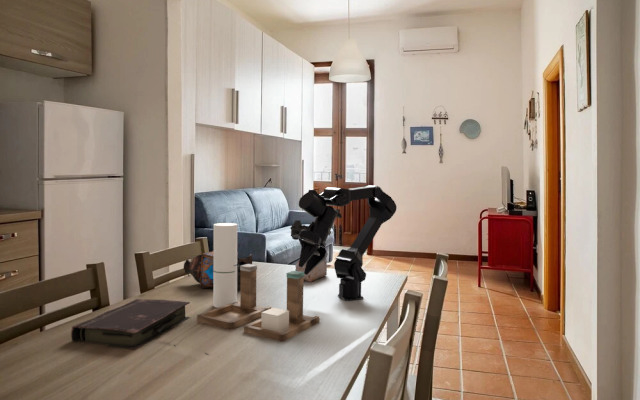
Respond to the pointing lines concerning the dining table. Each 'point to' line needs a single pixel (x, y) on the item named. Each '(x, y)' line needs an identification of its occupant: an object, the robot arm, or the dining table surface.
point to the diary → (131, 323)
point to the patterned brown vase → (210, 269)
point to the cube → (275, 320)
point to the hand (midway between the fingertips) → (302, 270)
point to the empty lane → (237, 304)
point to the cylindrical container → (225, 264)
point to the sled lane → (295, 309)
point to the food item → (313, 271)
